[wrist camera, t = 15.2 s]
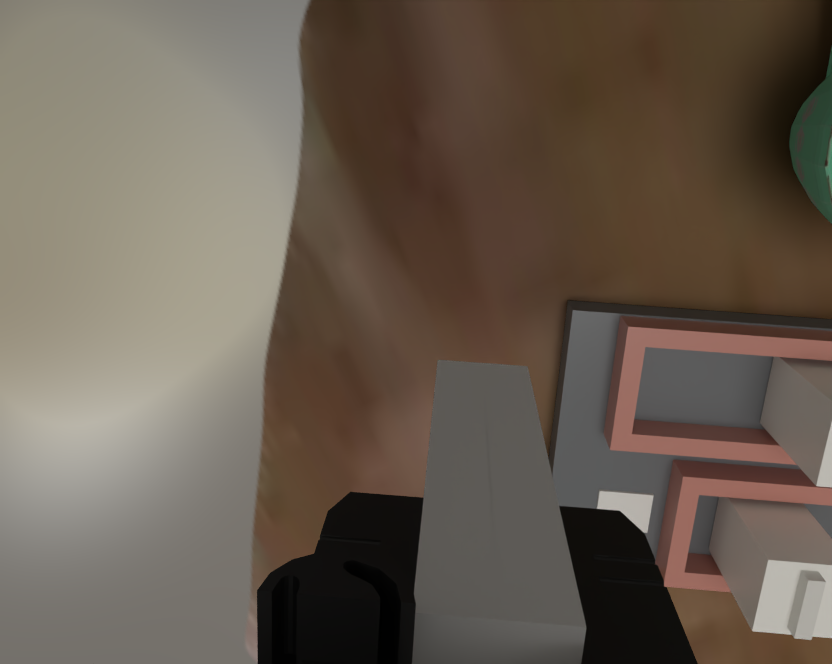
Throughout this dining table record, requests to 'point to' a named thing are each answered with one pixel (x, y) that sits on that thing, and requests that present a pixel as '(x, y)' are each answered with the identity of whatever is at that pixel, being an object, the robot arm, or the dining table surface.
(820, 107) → the green cup
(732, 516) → the block
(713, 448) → the switch bank
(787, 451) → the tab inner
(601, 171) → the dining table surface
